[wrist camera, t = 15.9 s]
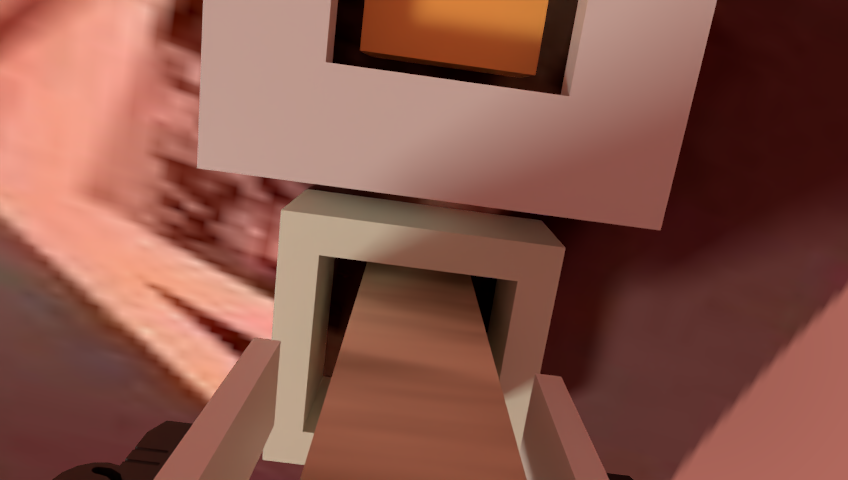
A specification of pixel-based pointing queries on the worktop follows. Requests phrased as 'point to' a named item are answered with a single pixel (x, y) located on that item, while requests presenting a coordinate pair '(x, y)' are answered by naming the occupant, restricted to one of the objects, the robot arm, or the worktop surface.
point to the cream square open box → (411, 247)
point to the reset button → (457, 33)
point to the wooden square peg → (414, 387)
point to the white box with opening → (457, 113)
